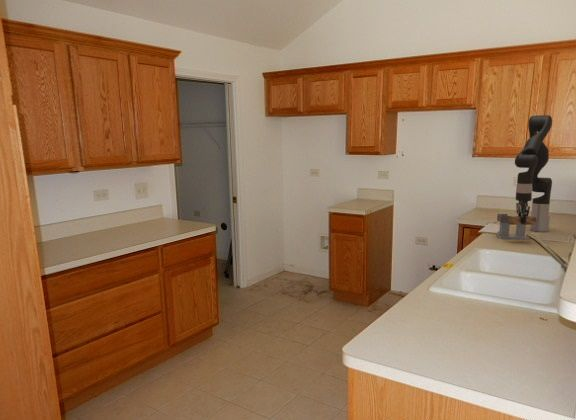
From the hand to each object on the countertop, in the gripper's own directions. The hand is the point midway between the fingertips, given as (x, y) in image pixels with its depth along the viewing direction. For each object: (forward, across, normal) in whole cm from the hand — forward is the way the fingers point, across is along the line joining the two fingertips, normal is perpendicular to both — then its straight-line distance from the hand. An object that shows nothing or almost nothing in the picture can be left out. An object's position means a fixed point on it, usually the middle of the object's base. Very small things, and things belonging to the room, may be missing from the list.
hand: (521, 222), depth 225 cm
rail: (+1, 0, 0) cm, 1 cm away
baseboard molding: (+12, +38, +5) cm, 40 cm away
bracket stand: (+11, +13, 0) cm, 17 cm away
